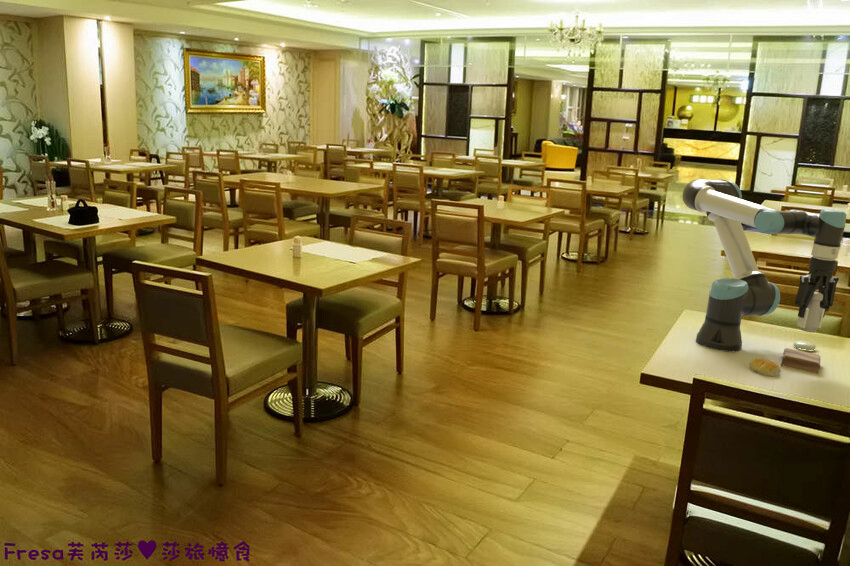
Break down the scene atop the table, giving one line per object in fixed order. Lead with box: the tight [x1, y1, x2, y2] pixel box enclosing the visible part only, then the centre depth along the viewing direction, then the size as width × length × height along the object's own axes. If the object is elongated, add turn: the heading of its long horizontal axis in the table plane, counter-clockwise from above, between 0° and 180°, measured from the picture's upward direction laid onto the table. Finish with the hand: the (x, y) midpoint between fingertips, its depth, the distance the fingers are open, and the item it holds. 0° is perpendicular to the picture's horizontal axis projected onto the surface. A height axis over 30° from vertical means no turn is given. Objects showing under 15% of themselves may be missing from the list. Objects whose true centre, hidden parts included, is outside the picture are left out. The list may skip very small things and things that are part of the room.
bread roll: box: [749, 358, 782, 377], centre depth 225 cm, size 8×9×4 cm
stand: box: [780, 347, 821, 374], centre depth 234 cm, size 11×11×4 cm
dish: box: [792, 339, 817, 350], centre depth 254 cm, size 7×7×2 cm
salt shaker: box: [800, 291, 823, 333], centre depth 230 cm, size 6×6×13 cm
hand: (808, 326), depth 231 cm, fingers closed on salt shaker, 6 cm apart
